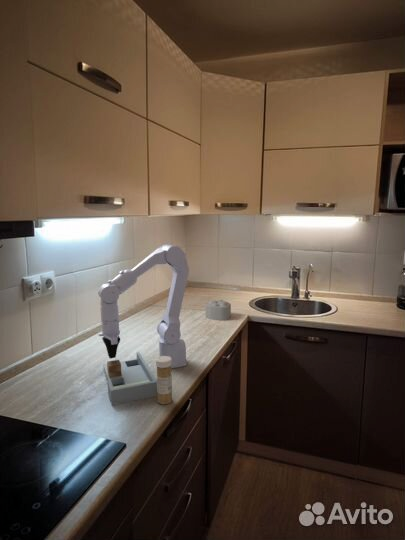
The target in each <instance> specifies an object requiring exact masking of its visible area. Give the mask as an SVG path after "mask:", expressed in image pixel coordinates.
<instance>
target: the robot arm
mask: <svg viewBox="0 0 405 540" xmlns="http://www.w3.org/2000/svg"><path fill="white" fill-rule="evenodd" d="M186 257H187V254H186V253H185V251H184V250H183V249H182V248H181V247H180V246H178V245H174V244H171V243H165V244H163V245H161V246H160V247H158V248H156V249H155V250H154V251H152V252H151V253H150V254H149V255H148V256H146V257H145V258H144V259H143V260H142V261H141V262H139V263H138V264H137V265H136V266H135V267H133V268H132V269H124V270H120V271H119V274H118V275H116V276H115V277H114V278H113V279H109V280H108V281H107V283H104V284H102V285H101V286H100V287H99V289H98V292H97V294H98V297H99V298H100V319H101V321H100V323H101V332H98V336H99V337H101V339H102V341H103V343H104V345H105V347H106V352H107V356H108V358H109V359H115V358H116V357H117V351H118V348H119V344H120V342H121V338H120V335H121V330H120V319H119V305H118V299H119V298H120V295H122V294H124V293H125V292H126V291H127V290H129V289H130V288H131V287H133V286H134V285H135V284H137V281H138V278H139V277H140V276H142V275H143V274H144V273H147V272H148V271H149V270H150V269H152V268H153V267H155V266H156V265H167V264H168V265H169V267H170V268H171V270H172V271H173V274H172V279H171V285H170V289H169V293H168V298H167V304H166V307H165V313H164V314H163V315H162V316H161V319H160V322H159V323H158V325H157V327H156V332H157V333H158V335H159V336H160V337H159V338H158V349H159V350H158V351H159V354H158V357H160V356H169V357H171V359H172V366H171V369H176V368H180V367H186V366H187V347H186V346H187V345H186V342H185V340H184V339H183V338H181V336H182V334H181V321H180V314H181V309H182V305H183V300H184V297H185V293H186V286H187V282H188V278H189V274H190V266H189V264H188V261H187V258H186Z"/></svg>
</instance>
